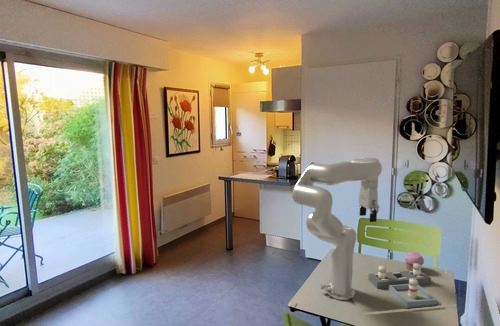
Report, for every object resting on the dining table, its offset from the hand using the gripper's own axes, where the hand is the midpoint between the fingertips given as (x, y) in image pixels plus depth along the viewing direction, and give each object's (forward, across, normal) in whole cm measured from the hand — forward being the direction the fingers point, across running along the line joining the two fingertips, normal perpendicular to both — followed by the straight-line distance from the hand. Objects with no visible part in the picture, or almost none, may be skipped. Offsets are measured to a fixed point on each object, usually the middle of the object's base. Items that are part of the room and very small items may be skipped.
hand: (367, 218), depth 156 cm
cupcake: (+31, -2, +28) cm, 41 cm away
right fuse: (+29, +8, +22) cm, 38 cm away
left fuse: (+29, +8, +4) cm, 31 cm away
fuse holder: (+30, +8, +13) cm, 34 cm away
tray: (+30, +21, +11) cm, 38 cm away
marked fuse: (+30, +21, +11) cm, 38 cm away
